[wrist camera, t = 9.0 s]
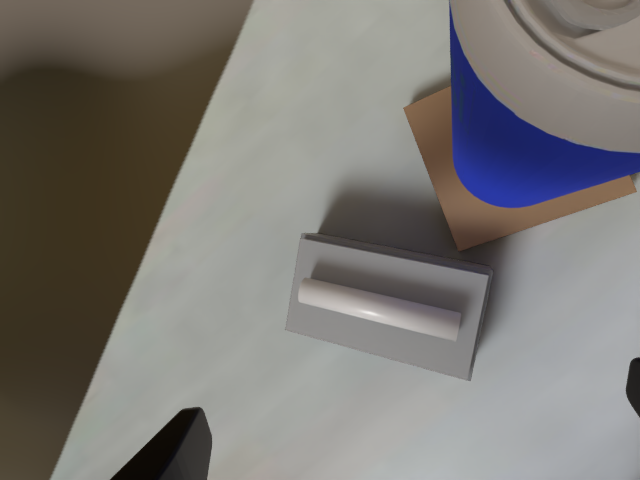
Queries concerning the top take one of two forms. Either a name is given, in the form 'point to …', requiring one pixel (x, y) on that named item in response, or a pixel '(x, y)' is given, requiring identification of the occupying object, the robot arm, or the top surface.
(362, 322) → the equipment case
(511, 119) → the beverage can
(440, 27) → the top surface
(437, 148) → the brown square slab
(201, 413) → the robot arm
